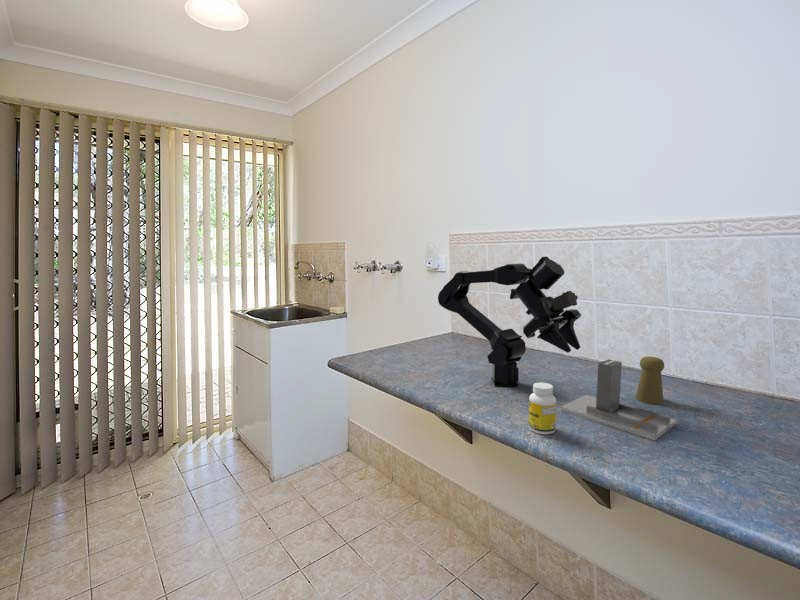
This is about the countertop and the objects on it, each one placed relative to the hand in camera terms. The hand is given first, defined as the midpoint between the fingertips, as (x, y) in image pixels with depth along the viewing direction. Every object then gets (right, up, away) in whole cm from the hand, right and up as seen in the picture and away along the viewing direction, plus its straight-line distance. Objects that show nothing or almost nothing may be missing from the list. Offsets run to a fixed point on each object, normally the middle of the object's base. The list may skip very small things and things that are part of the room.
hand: (574, 350), depth 98 cm
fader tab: (+5, -13, -5) cm, 15 cm away
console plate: (+7, -14, -6) cm, 17 cm away
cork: (+21, -13, +4) cm, 25 cm away
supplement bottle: (-12, -16, -12) cm, 23 cm away
